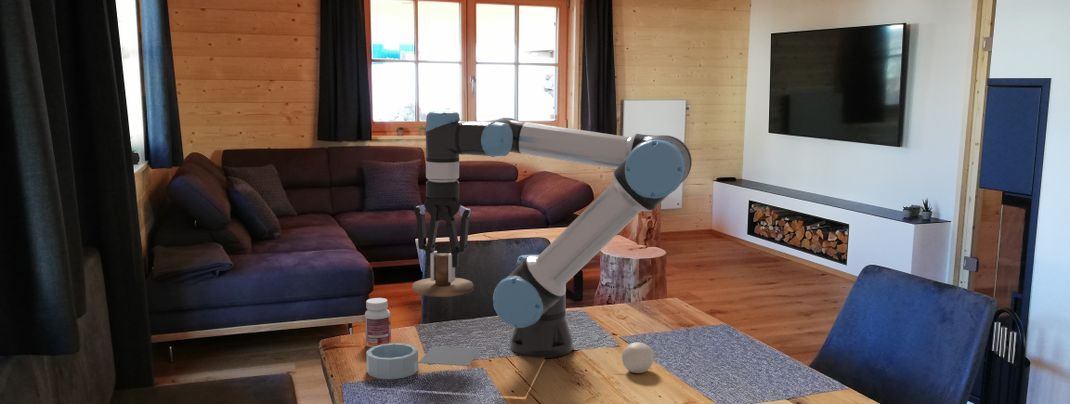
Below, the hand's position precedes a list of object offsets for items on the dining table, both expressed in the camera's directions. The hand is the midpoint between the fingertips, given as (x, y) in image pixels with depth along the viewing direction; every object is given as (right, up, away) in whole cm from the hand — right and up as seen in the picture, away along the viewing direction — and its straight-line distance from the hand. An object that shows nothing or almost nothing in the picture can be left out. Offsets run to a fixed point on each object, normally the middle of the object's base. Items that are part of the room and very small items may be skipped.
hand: (442, 280), depth 198 cm
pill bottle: (-17, -17, +13) cm, 28 cm away
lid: (0, -2, 0) cm, 2 cm away
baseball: (+44, -20, -6) cm, 49 cm away
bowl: (-11, -20, -7) cm, 24 cm away
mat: (+1, -19, +3) cm, 19 cm away
